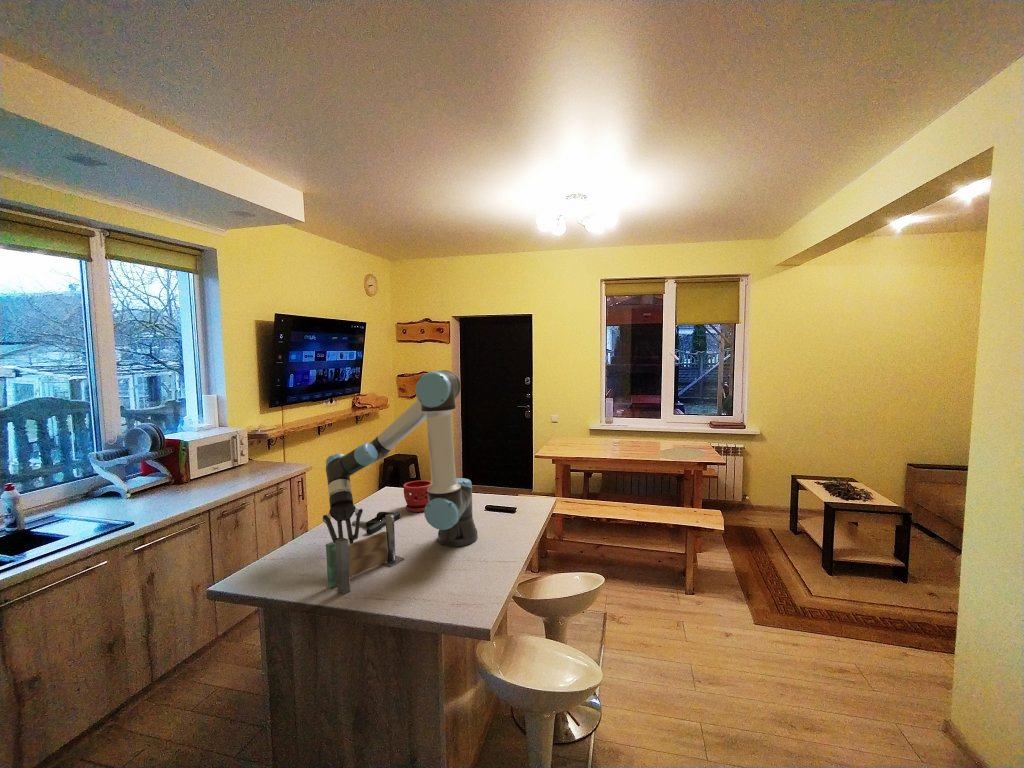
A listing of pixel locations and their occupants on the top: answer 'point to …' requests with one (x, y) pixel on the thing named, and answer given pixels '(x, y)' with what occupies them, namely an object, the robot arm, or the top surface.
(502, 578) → the top surface
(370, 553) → the wooden board
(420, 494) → the plant pot
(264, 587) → the top surface
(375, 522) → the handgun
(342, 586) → the post
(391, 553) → the hinge post
